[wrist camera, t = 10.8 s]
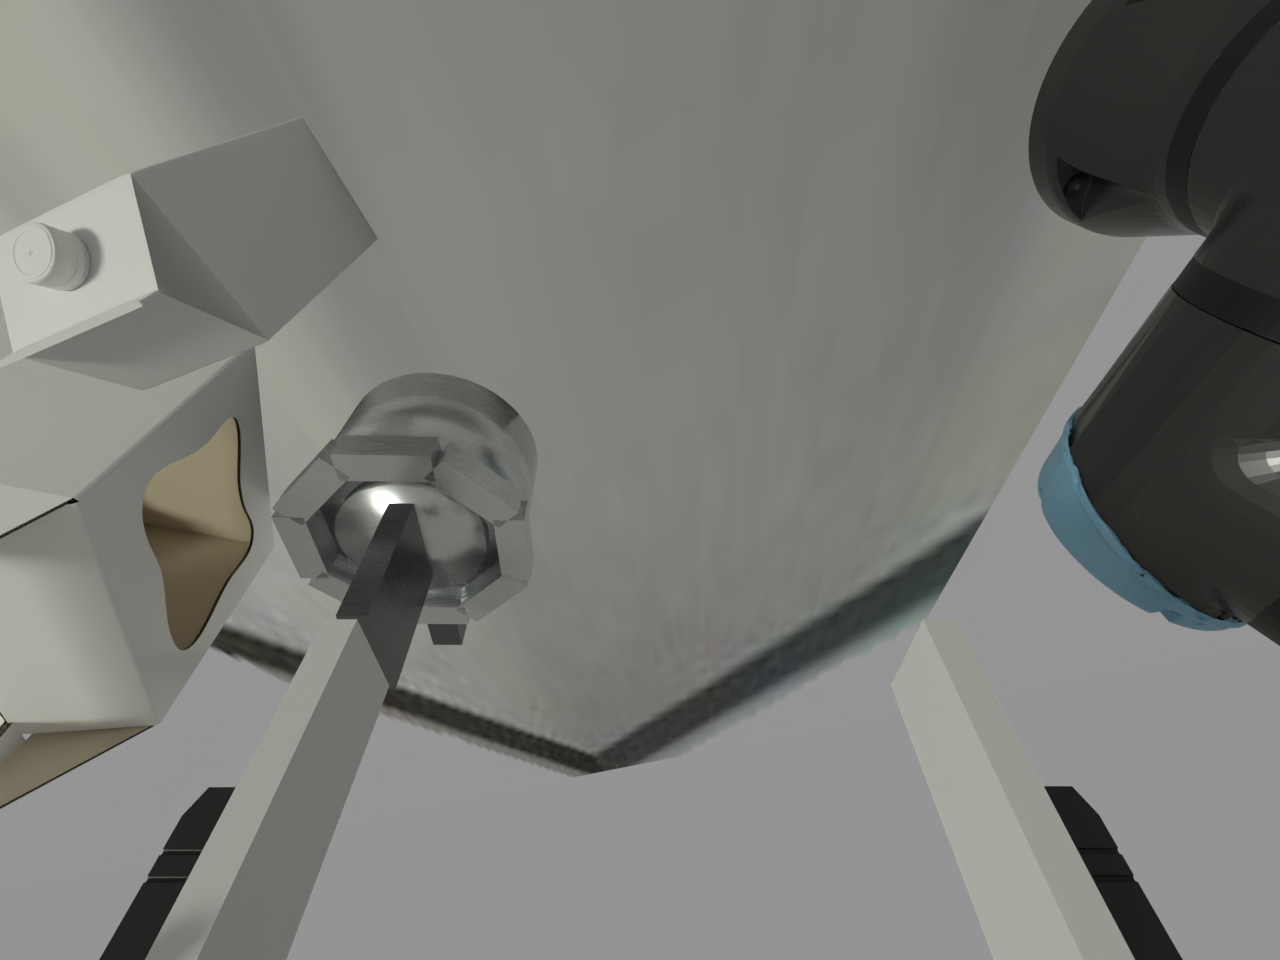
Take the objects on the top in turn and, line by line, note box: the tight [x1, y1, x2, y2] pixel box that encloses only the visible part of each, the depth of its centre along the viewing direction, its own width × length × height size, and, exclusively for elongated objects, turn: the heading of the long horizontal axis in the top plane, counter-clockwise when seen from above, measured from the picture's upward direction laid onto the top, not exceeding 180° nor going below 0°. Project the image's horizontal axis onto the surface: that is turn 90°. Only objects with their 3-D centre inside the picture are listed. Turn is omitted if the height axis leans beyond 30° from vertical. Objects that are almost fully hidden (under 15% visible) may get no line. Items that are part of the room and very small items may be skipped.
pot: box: [271, 373, 538, 645], centre depth 45 cm, size 16×22×11 cm
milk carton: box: [0, 117, 377, 390], centre depth 28 cm, size 7×7×19 cm
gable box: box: [0, 304, 274, 809], centre depth 35 cm, size 22×13×28 cm, turn 162°
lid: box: [335, 481, 489, 689], centre depth 37 cm, size 10×10×10 cm
